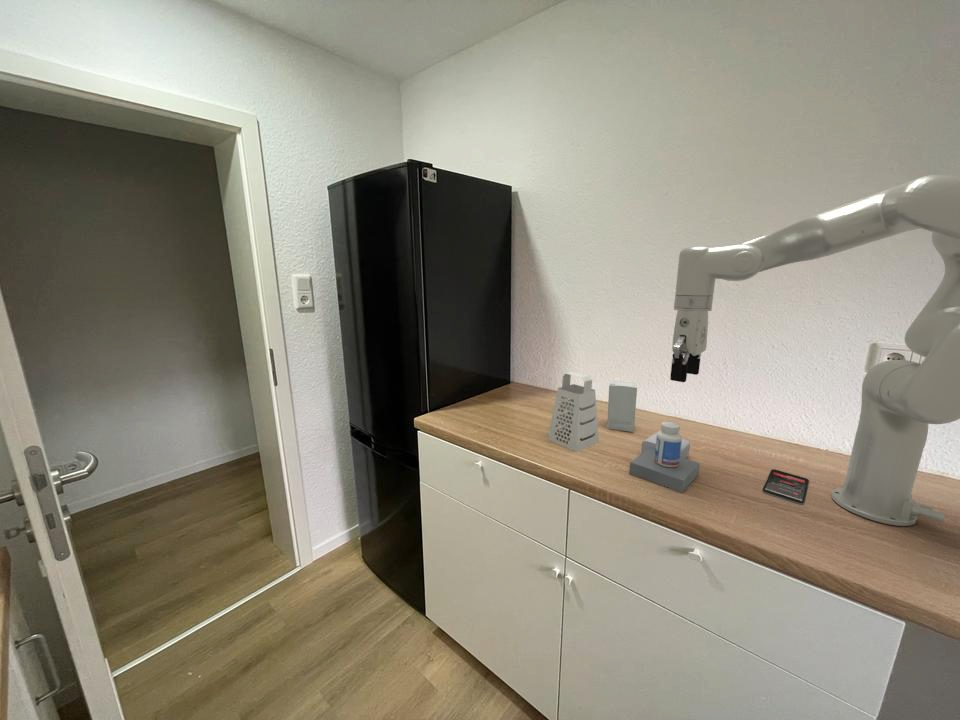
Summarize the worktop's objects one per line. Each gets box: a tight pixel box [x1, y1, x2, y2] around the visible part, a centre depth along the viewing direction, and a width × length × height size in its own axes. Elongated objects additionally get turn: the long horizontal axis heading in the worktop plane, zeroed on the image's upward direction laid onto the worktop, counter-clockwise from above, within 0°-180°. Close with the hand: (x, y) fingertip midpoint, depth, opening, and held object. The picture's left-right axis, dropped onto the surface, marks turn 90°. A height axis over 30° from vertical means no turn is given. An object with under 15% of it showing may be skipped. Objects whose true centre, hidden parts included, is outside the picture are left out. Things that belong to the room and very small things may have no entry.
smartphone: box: [761, 468, 810, 506], centre depth 89 cm, size 7×1×15 cm
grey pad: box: [629, 448, 701, 494], centre depth 93 cm, size 12×12×3 cm
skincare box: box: [606, 380, 638, 433], centre depth 121 cm, size 8×6×15 cm
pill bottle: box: [654, 421, 683, 467], centre depth 92 cm, size 6×5×10 cm
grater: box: [546, 371, 600, 453], centre depth 110 cm, size 10×10×20 cm
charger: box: [640, 432, 691, 459], centre depth 105 cm, size 5×9×15 cm
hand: (684, 377), depth 90 cm, fingers open, 9 cm apart
